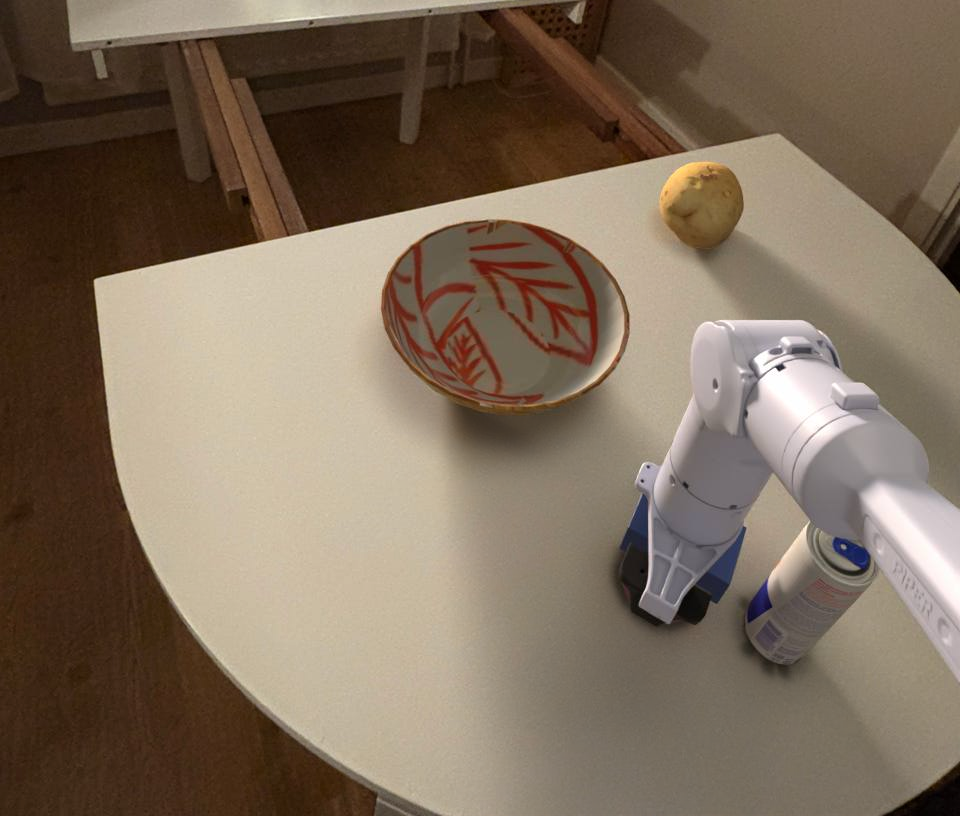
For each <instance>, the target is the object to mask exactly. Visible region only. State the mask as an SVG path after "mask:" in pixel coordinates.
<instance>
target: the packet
mask: <svg viewBox="0 0 960 816" xmlns="http://www.w3.org/2000/svg"><path fill="white" fill-rule="evenodd" d="M746 531H747V526H744V525H743V528H742V530H741V532H740V534H739V536H738V537H737V539H736V540H735V542H734V543H733V544H732V545H731V546H730V547H729V548H728V549H727V550H726V552H725V553H724V554H723V555H722V556H721V557H720V558H719V559H718V560H717V561H716V562H715V563H714V564H713V565H712V566H711V568H710V569H709V570H708V571H707V572H706V573H705V574H704V575H703V576H702V577H701V578H700V579H699V580H698V581H697V582H696V583H695V584H696V585H698V586H700V587H701V588H703V589H705V590H707V591H708V592H710V593H711V594H712V597H711V600H710V603H713V604H714V605H718V604H719V603H720V601H721V600H722V599H723V596H724V595H725V593H726V592H727V590H728V589H729V587H730V586H731V584H732V581H733V577H734V573H735V570H736V567H737V563H738V560H739V556H740V553H741V550H742V546H743V542H744V539H745V535H746ZM630 543H633V544H634V545H636V546H638V547H640V548H641V549H643V550H645V551H647V552H648V553H649V540H648V499H647V497H646V496H645V495H644V494H642V493H640V497H639V499H638V502H637V504H636V506H635V509H634V511H633V514H632V515H631V519H630V520H629V523H628V526H627V527H626V530H625V532H624V535H623V537H622V540H621V542H620V545H619V547H618V550H620V551H622V552H623V553H624V554H625V553H626V551H627V549H628V546H629V544H630Z"/></svg>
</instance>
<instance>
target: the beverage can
mask: <svg viewBox="0 0 960 816" xmlns="http://www.w3.org/2000/svg"><path fill="white" fill-rule="evenodd" d="M792 542H793V543H791V545H790V546H789V548H788V549H787V551H786V552H785V554H784V555H783V556H782V557H781V559H780V560H779V561H778V563H777V564H776V566H775V567H774V569H773V570H772V571H771V573H770V574H769V575H768V577H767V578H766V579H765V581H764V582H763V583H762V585H761V586H760V587H759V589H758V591H757V592H756V594H755V595H754V596H753V598H751V600H750V602H749V603H748V604H747V607H746V609H745V612H744V617H743V621H744V622H743V623H744V629H745V632H746V635H747V637H748V639H749V641H750V643H751V644H752V646H753V647H754V648H755V650H757V651H758V653H759V654H760V655H762V656H763V657H764V658H766V659H767V660H769V661H770V662H773V663H775V664H779V665H793V664H796V663H798V662H799V661H800V660H802V659H803V658H805V656H806V655H807V654H808V653H809V652H810V651H811V650H812V649H813V648H814V647H815V645H817V643H818V642H819V641H820V640H821V639H822V638H823V637H824V636H825V635H826V634H827V633H828V632H829V630H831V628H832V627H833V626H834V625H836V623H837V622H838V621H839V620H840V618H841V617H843V615H844V614H845V613H846V612H847V611H848V610H849V609H850V608H851V607H852V606H853V605H854V604H855V603H856V601H857V600H858V599H859V598H860V597H861V596H862V595H863V594H864V593H865V592H866V590H868V588H869V587H870V586H871V585H872V584H873V582H874V581H875V580H876V579H877V577H878V576H879V574H880V571H881V570H880V569H879V567H878V566H877V564H876V563H875V561H874V560H873V558H872V557H871V556H870V554H869V553H868V551H867V550H866V548H865V547H864V546H863V544H862V543H861V541H860V540H851V539H843V538H838V537H835V536H832V535H829V534H827V533H825V532H823V531H822V530H820V529H819V528H817V527H816V526H815V525H814V524H813V523H812V522H811V521H810V520H809V521H808V523H807V524H806V525H805V526H804V527H803V529H802V530H801V532H800V533H799V534H798V536H797V537H796V538H795V540H794V541H792Z"/></svg>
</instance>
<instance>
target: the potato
mask: <svg viewBox="0 0 960 816" xmlns="http://www.w3.org/2000/svg"><path fill="white" fill-rule="evenodd" d="M744 202H745V201H744V193H743V189H742V186H741V184H740V182H739V179H738V178H737V176H736V175H735V173H734V172H733V171H732V169H730V168H729V167H728V166H726V165H724V164H721V163H719V162H714V161H695V162H690V163H686V164H684V165H683V166H681V167H679V168H678V169H676V170H675V171H674V172H673V173H672V174H671V175H670V177H669V178H668V179H667V181H666V182H665V184H664V185H663V187H662V190H661V192H660V196H659V211H660V214H661V218H662V219H663V221H664V223H665V225H666V226H667V227H668V229H669V230H670V231H672V232H673V233H674V235H675V236H676V238H677V239H678V240H679V241H681V242H682V243H683V244H685V245H687V246H688V247H692V248H696V249H703V250H704V249H706V250H708V249H715V248H717V247H719V246H721V245H722V244H723V243H725V242H726V241H727V240H728V239H729V238H730V236H731V235H732V234H733V232H734V230H735V228H736V227H737V226H738V223H739V221H740V219H741V218H742V215H743V212H744V208H745V203H744Z"/></svg>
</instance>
